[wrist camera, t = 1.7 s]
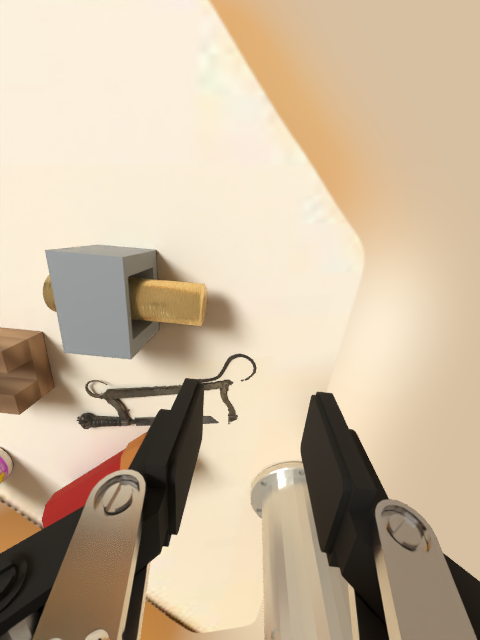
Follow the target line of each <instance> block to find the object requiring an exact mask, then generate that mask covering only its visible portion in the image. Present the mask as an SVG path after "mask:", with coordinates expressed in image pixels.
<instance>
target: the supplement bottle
mask: <svg viewBox="0 0 480 640" xmlns="http://www.w3.org/2000/svg"><path fill="white" fill-rule="evenodd" d="M12 467H13V464H12V460H11V458H10V456H9V455H8V454H7V453H6V452H5V451H4V450H2V449H1V448H0V483H1V482H2V481H3V480H4V479H5V478H6V477H7V476H8V475H9V474H10V472H11V471H12Z"/></svg>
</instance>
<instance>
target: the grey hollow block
mask: <svg viewBox="0 0 480 640" xmlns="http://www.w3.org/2000/svg"><path fill="white" fill-rule="evenodd" d="M45 252H46V258H47V263H48V268H49V274H50V279H51V284H52V290H53V295H54V300H55V305H56V311H57V316H58V321H59V327H60V332H61V337H62V343H63V348H64V353H72V354H82V355H92V356H102V357H112V358H122V359H132V358H133V357H134V356H135V355H136V354H137V353H138V352H139V350H140V349H141V348H142V347H143V346H144V345H145V344H146V343H147V342H148V341H149V340H150V339H151V338H152V337H153V336H154V335H155V334H156V333H157V332H158V331H159V322H156V321H145V320H135V319H131V311H130V298H129V285H128V277H134V278H145V279H156V280H157V259H156V250H151V249H140V248H128V247H117V246H106V245H92V246H82V247H72V248H62V249H52V250H45Z"/></svg>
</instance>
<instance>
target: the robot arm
mask: <svg viewBox="0 0 480 640" xmlns="http://www.w3.org/2000/svg"><path fill="white" fill-rule="evenodd" d="M203 401H204V384H202V383H200V381H199V380H198V379H188V378H186V379H185V380H184V383H183V385H182V387H181V389H180V391H179V393H178V395H177V398H176V400H175V402H174V404H173V406H172V408H171V410H165V409H161V410H159V412H158V414H157V415H156V417H155V419H154V421H153V423H152V425H151V427H150V429H149V430H148V432H147V434H146V436H145V438H144V440H143V442H142V444H141V445H140V447H139V449H138V451H137V453H136V455H135V457H134V459H133V461H132V462H131V464H130V466H129V468H128V470H125V469H124V470H120V471H116V472H113V473H111V474H109V475H107V476H106V477H104V478H103V479H102V480H100V481H99V482H98V483H97V484H96V486H95V487H94V488H93V489H92V491H91V493H90V495H89V496H88V499H87V502H86V504H85V505H84V506H83V507H81V508H79V509H77V510H76V511H74V512H72V513H70V514H69V515H67V516H65V517H63V518H62V519H60V520H58V521H56V522H55V523H53V524H51V525H49V526H48V527H46V528H44V529H42V530H41V531H39V532H37V533H35V534H34V535H32V536H30V537H29V538H27V539H25V540H23V541H21V542H20V543H18V544H16V545H14V546H13V547H11V548H10V549H8V550H6V551H4V552H2V553H0V640H140V636H141V627H142V621H143V614H144V606H145V599H146V591H147V584H148V577H149V569H150V562H151V561H152V560H153V559H154V558H155V557H156V556H158V555H159V554H160V553H161V550H162V546H166V547H168V546H169V542H170V538H171V535H172V534H174V535H177V534H178V531H179V527H180V523H181V519H182V515H183V512H184V508H185V504H186V500H187V496H188V492H189V488H190V484H191V480H192V476H193V472H194V468H195V465H196V461H197V457H198V453H199V449H200V445H201V440H202V430H203ZM301 457H302V462H303V463H301V462H288V463H281V464H278V465H274V466H272V467H270V468H268V469H266V470H265V471H263V472H262V473H260V474H259V475H258V476H257V477H256V479H255V480H254V482H253V484H252V487H251V505H252V507H253V509H254V511H255V512H256V513H257V515H258V516H259V517H260V518H262V541H263V587H264V633H265V640H480V581H478V580H477V579H476V578H474V577H473V576H472V575H471V574H469V573H468V572H467V571H465V570H464V569H463V568H462V567H460V566H459V565H458V564H456V563H455V562H454V561H453V560H451V559H450V558H449V557H448V556H446V555H445V554H443V552H442V550H441V547H440V545H439V542H438V540H437V537H436V535H435V534H434V532H433V530H432V528H431V527H430V525H429V524H428V523H427V522H426V520H425V519H424V518H423V517H422V516H421V515H420V514H419V513H417V512H416V511H415V510H414V509H412V508H411V507H409V506H408V505H406V504H404V503H402V502H399V501H397V500H390V499H388V497H387V494H386V492H385V490H384V488H383V486H382V484H381V483H380V480H379V478H378V476H377V474H376V472H375V470H374V468H373V466H372V464H371V462H370V460H369V458H368V456H367V454H366V452H365V450H364V448H363V446H362V444H361V442H360V440H359V438H358V436H357V434H356V432H355V431H354V430H352V429H349V428H348V426H347V424H346V422H345V420H344V417H343V415H342V413H341V411H340V409H339V407H338V405H337V402H336V400H335V398H334V396H333V394H332V393H324V392H317V393H316V395H312V396H311V400H310V405H309V409H308V414H307V419H306V423H305V428H304V432H303V437H302V442H301Z"/></svg>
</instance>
